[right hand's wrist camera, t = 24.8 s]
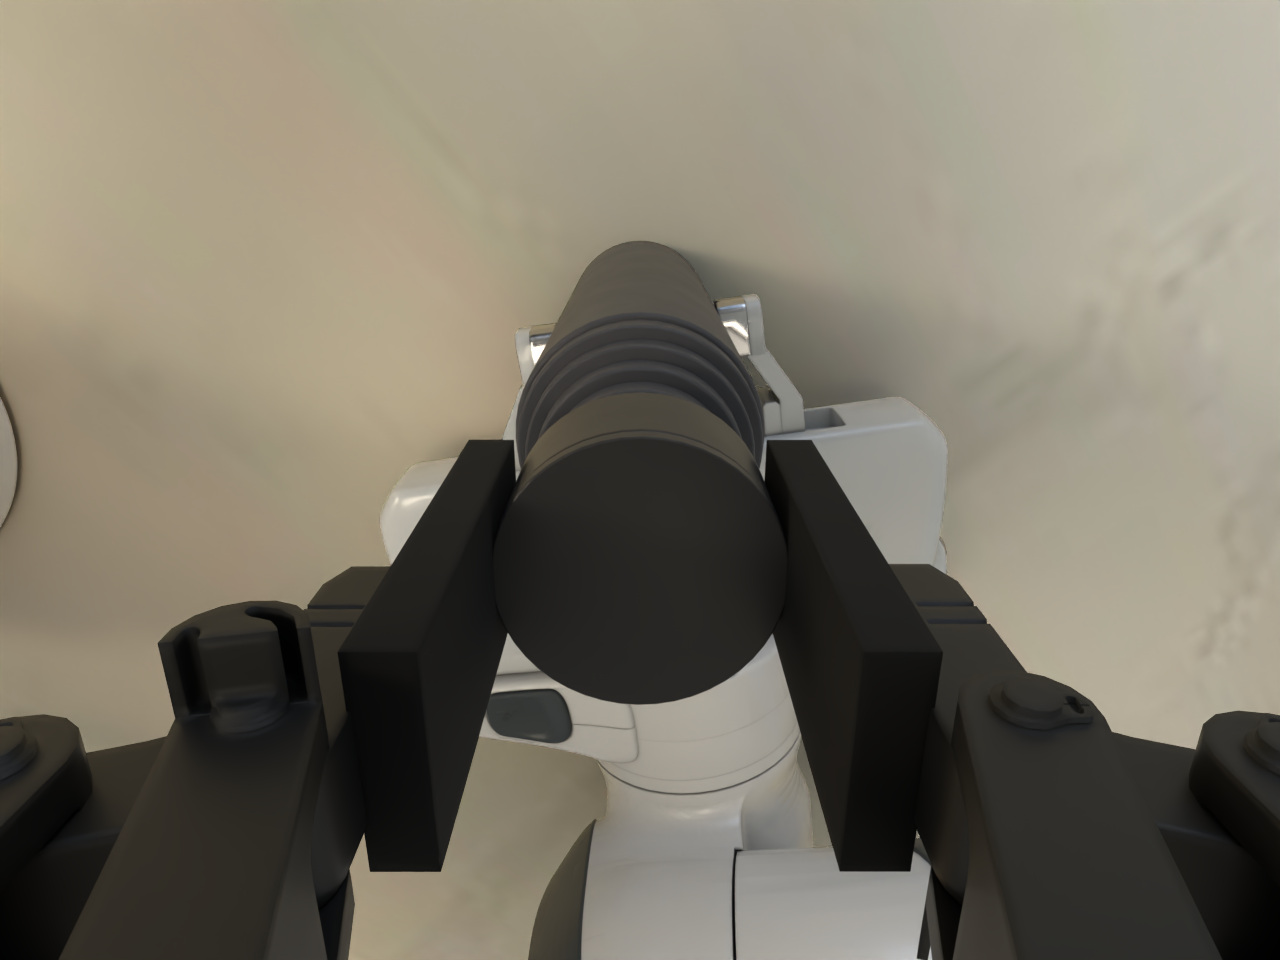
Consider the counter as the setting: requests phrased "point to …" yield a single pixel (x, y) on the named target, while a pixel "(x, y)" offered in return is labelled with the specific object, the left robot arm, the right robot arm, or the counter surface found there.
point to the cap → (640, 552)
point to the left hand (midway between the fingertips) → (634, 313)
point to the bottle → (639, 347)
